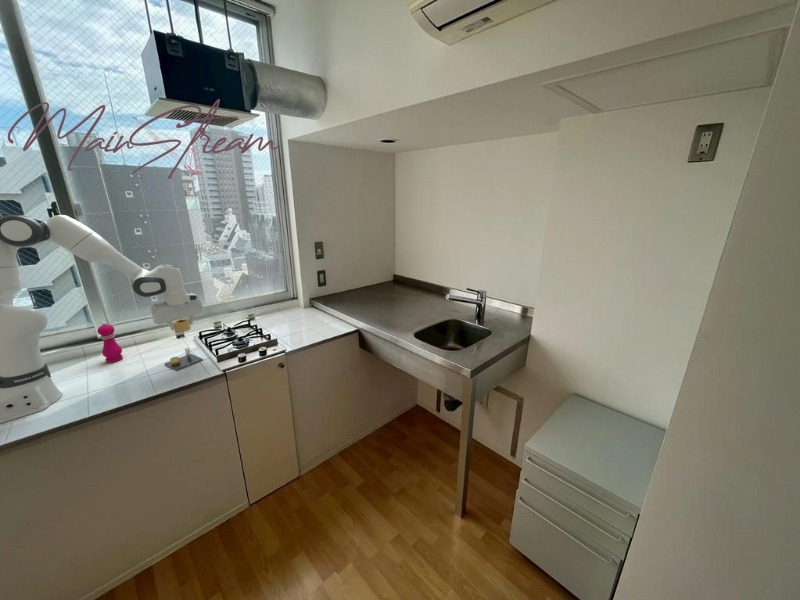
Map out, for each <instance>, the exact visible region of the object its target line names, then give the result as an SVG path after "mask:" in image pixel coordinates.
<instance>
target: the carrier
mask: <svg viewBox="0 0 800 600" xmlns="http://www.w3.org/2000/svg"><path fill="white" fill-rule="evenodd" d="M190 350H191V349H190V348H189V347H186V348H184V351H185V355H184V356H180V357H179V356H172V357H171V358H169V361H167V362H165V363H164V366H166V367H167V368H169V369H171V370H172V371H175V372H178V371H181V370H184V369H186V368H189V367H191V366H194V365H196V364H198V363H201V362H204V358H203V357H200V356H198V355H195V354H193V353H191V351H190Z"/></svg>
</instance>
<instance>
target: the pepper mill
mask: <svg viewBox="0 0 800 600" xmlns="http://www.w3.org/2000/svg"><path fill="white" fill-rule="evenodd" d="M97 334H98V335H100V340H102V342H103V347H102V350H101V352H102V357H105V362H106V363H107V364H113V363H117V362H120V361H122V360H123V359H124V356H123V354H122V352H123V348H122V347H121V346H120V345H119V344H118V343H117V342H116V339H115V337H116V335H115V327H114V326H113V325H112V324H108V323H107V322H105V321H102V322H101V325H100V326H98V328H97Z"/></svg>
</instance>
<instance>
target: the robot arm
mask: <svg viewBox="0 0 800 600" xmlns="http://www.w3.org/2000/svg"><path fill="white" fill-rule="evenodd" d="M45 242H52V243H54V244H56V245H58V246H60V247H62V248H63V249H65V250H66V251H68V252H69V253H71V254H72V255H74V256H76V257H78V258H80V259H82V260H84V261H86V262H89V263H95V264H96V263H97V264H104V265H108V266H110V267H112V268H114V269H116V270H117V271H119V272H120V273H122V274H123V275H126V276H127V277H128V278H130V279H131V280H132V290H133V292H134V293H135V294H136V295H138V296H141V297H144V298H151V297H154V296H158V295H160V294H162V298H163V301H162V302H158V303H155V304H153V305H152V306H151V307H150V312H151V314H152V320H153V323H154V324H156V325H159V326H161V325H163V324H166V325H167V326H169V327H170V330H171V331H175V329H176V326H174V325H173V322H174V321H176V320H179V319H185V318H188V317H189V318H188V319H189V321H190V326H191V325H193V324H194V323H193V320H194V319H195V315H198V314H201V313H203V312H204V307H203V303H202V301H201V300H200V295H199V294H197V293H192V292H187V290H186V289H185V287H184V284H185V282H184V278H183V274H182V272H181V269H180V268H179V266H176V265H174V264H170V263H169V264H165V263H164V264H159V265H157V266H156V267H155V268H152V269H148V268H145V267H142V266H140V265H139V264H138V263H135V262H134V261H133V260H132V259H130V258H128V257H127V256H125V255H124V254H123V253H120V252H119V250H117V249H116V248H115V247H114V246H113V245H111V244H110V242H108V241H107V240H106V239H105V238H103V236H101V235H100V234H99V233H97V232H96V231H94V230H93V229H92V228H89V227H88V226H86V225H85V224H83V223H81V222H79V221H78V220H76V219H74V218H72V217H70V216H69V215H65V214H58V215H56V214H55V215H53V216H51V217H49V218H48V219H46V220H43V219H37V218H33V217H30V216H27V215H19V214H18V215H17V214H10V215H9V214H8V215H5V216H2V217H0V424H3V423H6V422H10V421H13V420H15V419H18V418H22V417H25V416H28V415H33V414H35V413H37V412H38V413H39V412H41V411H44V410H45V409H47V408H49V407H50V406H51V405H52V404H53V403H55V402H57V401H59V400H60V399H61V398H62V396H63V392H61V390H59V389H58V387H57V385H56V384H55V383H54V381H53V379H52V378H51V377H52V375H51V371H50V368H49V365H48V364H46V363H45V361H44V359H43V355H42V352H41V349H40V336H41V333H42V332H43V331H44V330H45V328H46V327H47V325H48V317H47V316H46V314H45V312H43V311H42V310H40V309H36V308H32V307H28V306H21V305H20V306H19V305H17V306H16V305H14V298H15V295H16V294H17V293H18V292H19V291H20V290H21V289H22V281H21V275H20V271H19V266H18V262H17V252H18V250H22V249H26V248H31V247H32V248H33V247H36V246H38V245H41V244H43V243H45Z"/></svg>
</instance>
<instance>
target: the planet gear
mask: <svg viewBox="0 0 800 600" xmlns="http://www.w3.org/2000/svg"><path fill="white" fill-rule="evenodd" d="M189 319H190V318H181V319H177V320H174V321H172V325H174V326H176V329H175V330H174V332H175V333H179V334H180V333H185V332H188V331H190V330H191V329H192V326H191V325H190V321H189Z"/></svg>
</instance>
